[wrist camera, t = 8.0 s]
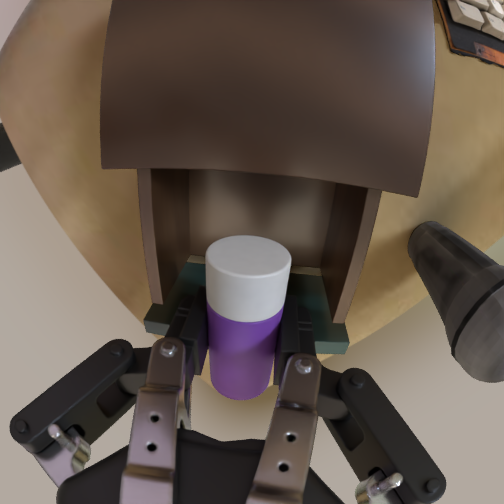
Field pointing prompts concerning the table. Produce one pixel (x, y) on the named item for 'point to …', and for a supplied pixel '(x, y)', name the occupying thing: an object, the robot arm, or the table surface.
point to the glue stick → (244, 311)
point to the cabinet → (271, 88)
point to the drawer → (262, 225)
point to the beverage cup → (463, 297)
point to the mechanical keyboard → (475, 28)
